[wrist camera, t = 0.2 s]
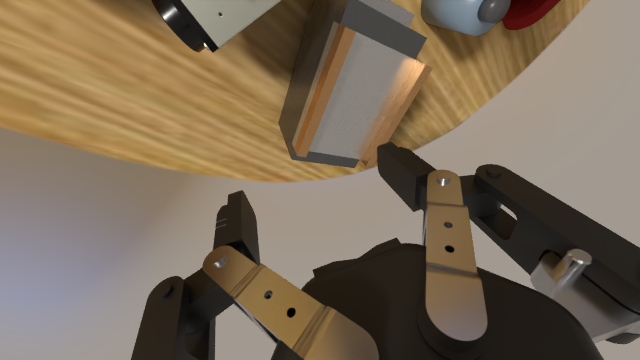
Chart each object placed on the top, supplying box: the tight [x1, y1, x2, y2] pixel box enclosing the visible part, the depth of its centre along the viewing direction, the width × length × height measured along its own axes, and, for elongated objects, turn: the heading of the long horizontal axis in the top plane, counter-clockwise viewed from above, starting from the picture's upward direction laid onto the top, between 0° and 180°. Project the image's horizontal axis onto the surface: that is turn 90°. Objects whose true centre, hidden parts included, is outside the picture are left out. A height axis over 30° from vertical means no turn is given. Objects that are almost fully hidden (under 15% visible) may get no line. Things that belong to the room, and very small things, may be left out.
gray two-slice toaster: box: [279, 0, 433, 168], centre depth 27 cm, size 17×10×13 cm, turn 158°
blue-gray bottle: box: [421, 0, 511, 36], centre depth 27 cm, size 5×5×10 cm
